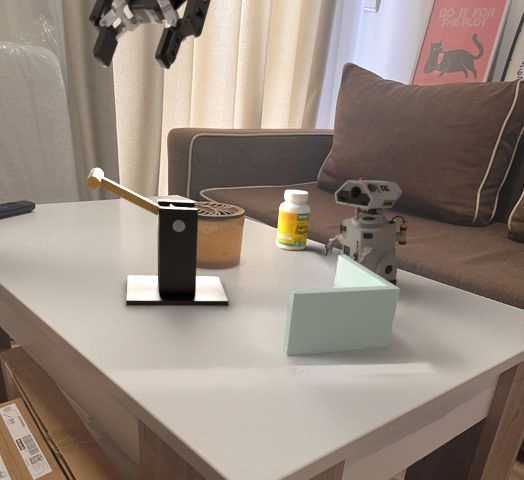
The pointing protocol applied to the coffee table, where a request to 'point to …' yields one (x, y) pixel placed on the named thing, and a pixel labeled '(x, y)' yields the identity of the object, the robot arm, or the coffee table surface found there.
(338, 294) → the l-shaped corner panel
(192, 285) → the bracket
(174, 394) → the coffee table surface
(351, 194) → the figurine
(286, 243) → the supplement bottle
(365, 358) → the coffee table surface
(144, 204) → the tap lever
